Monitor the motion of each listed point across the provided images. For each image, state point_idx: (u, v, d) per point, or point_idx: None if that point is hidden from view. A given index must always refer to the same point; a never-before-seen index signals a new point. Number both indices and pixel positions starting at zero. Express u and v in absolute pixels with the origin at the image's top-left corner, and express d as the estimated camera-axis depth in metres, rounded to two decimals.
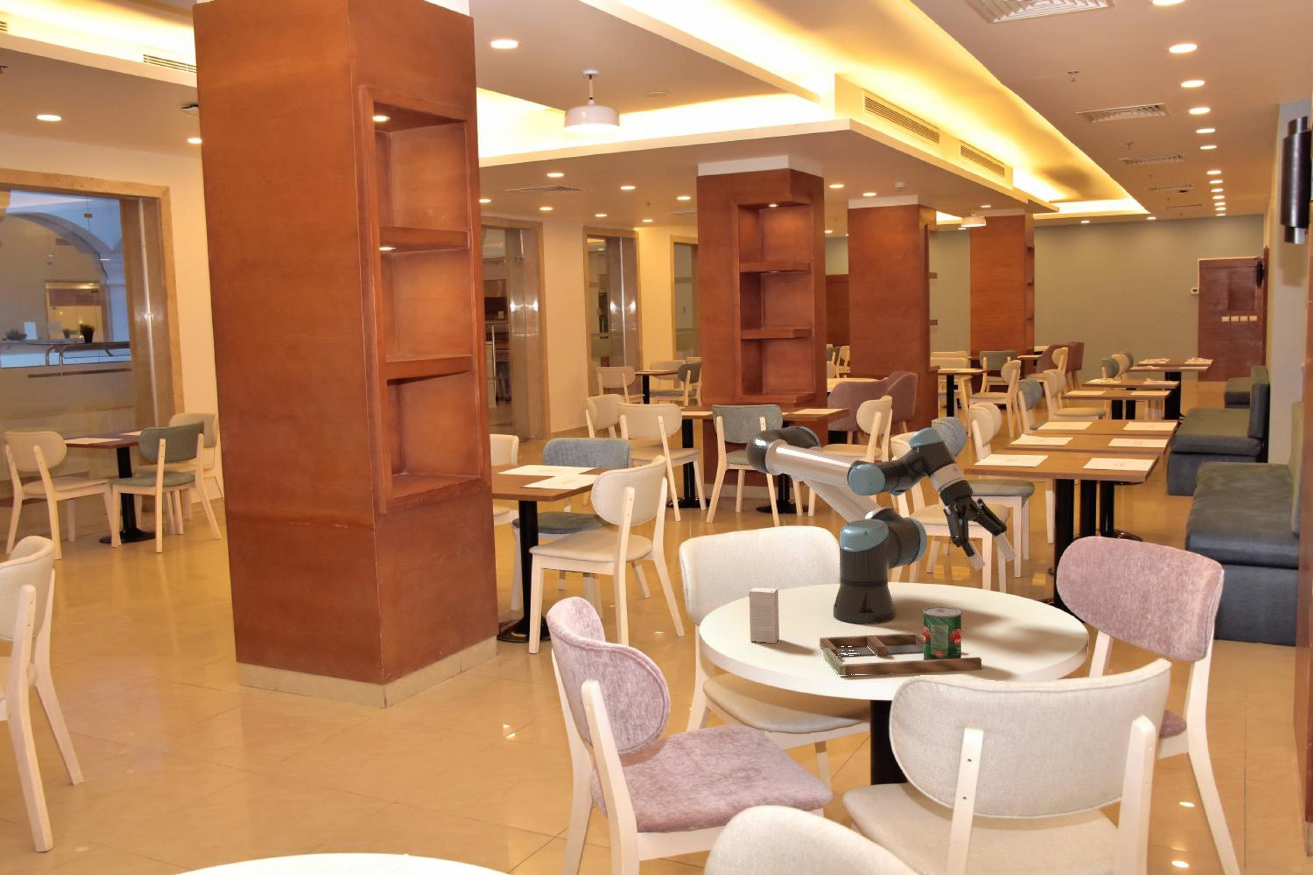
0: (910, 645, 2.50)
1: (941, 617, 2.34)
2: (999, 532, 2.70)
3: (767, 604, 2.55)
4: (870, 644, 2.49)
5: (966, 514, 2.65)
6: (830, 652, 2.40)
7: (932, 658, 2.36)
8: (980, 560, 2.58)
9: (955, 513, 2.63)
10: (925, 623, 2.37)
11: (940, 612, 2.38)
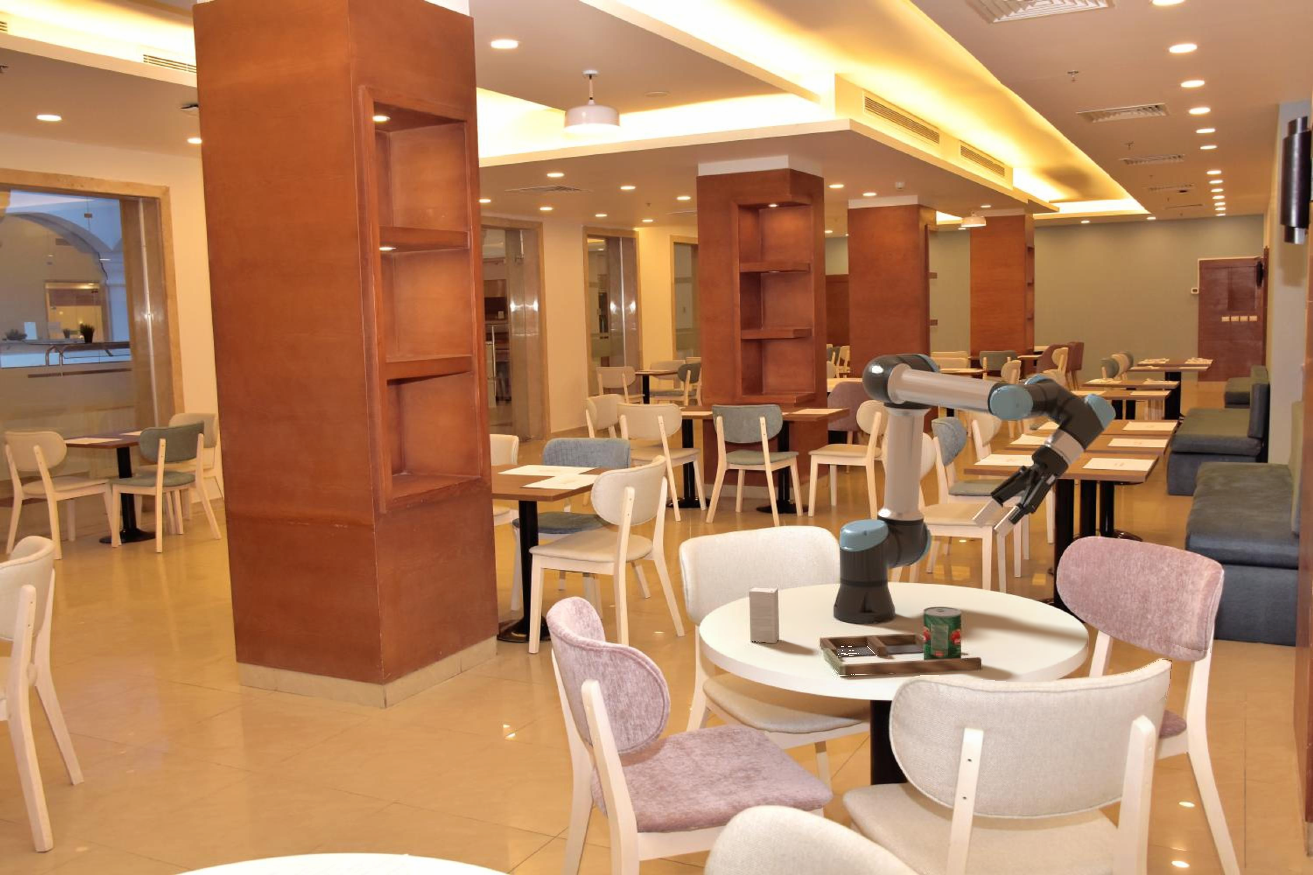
0: (910, 645, 2.50)
1: (941, 617, 2.34)
2: (999, 501, 2.49)
3: (767, 604, 2.55)
4: (870, 644, 2.49)
5: None
6: (830, 652, 2.40)
7: (932, 658, 2.36)
8: (1008, 531, 2.36)
9: None
10: (925, 623, 2.37)
11: (940, 612, 2.38)
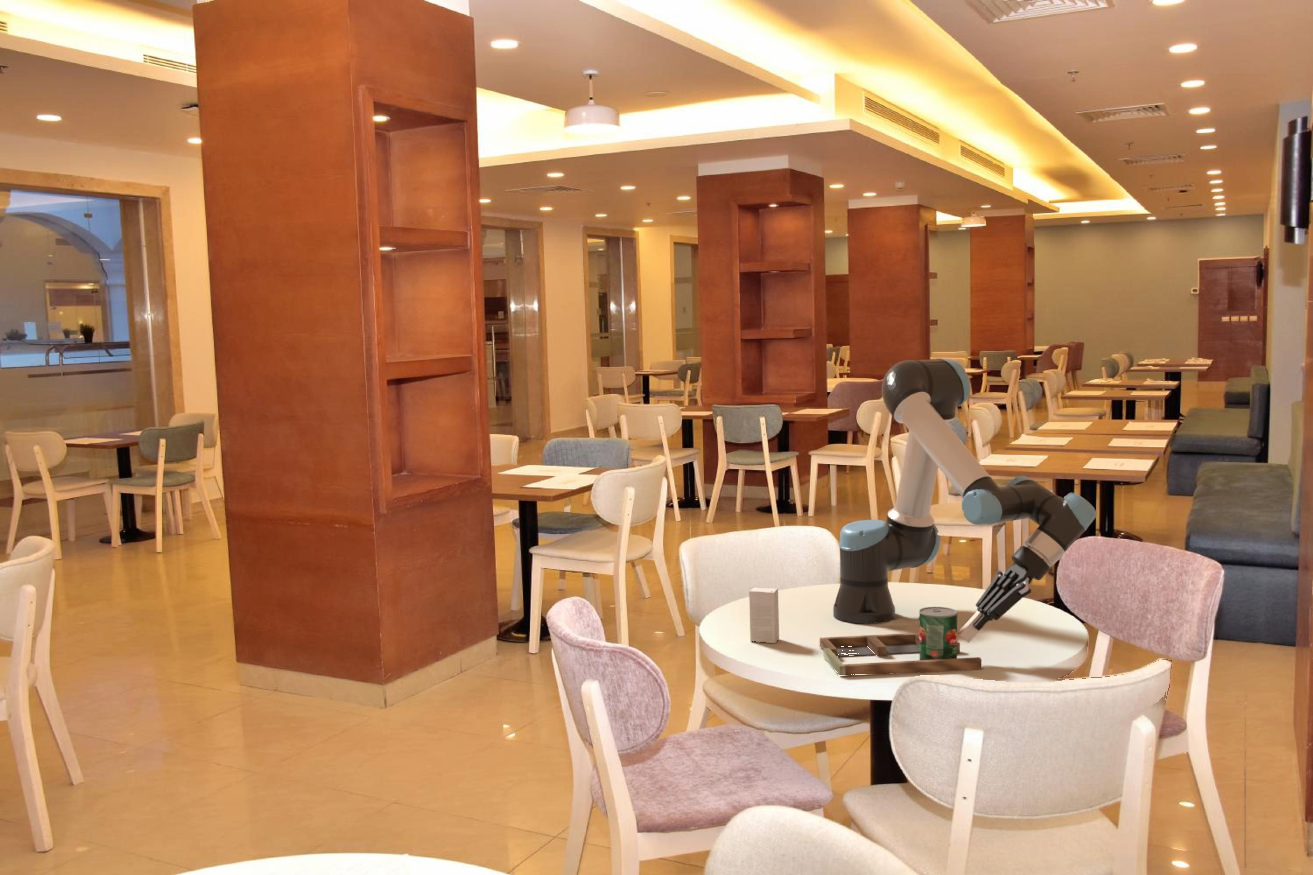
0: (910, 645, 2.50)
1: (936, 617, 2.34)
2: None
3: (767, 604, 2.55)
4: (870, 644, 2.49)
5: None
6: (830, 652, 2.40)
7: (928, 658, 2.36)
8: (972, 637, 2.37)
9: None
10: (921, 623, 2.37)
11: (936, 612, 2.38)
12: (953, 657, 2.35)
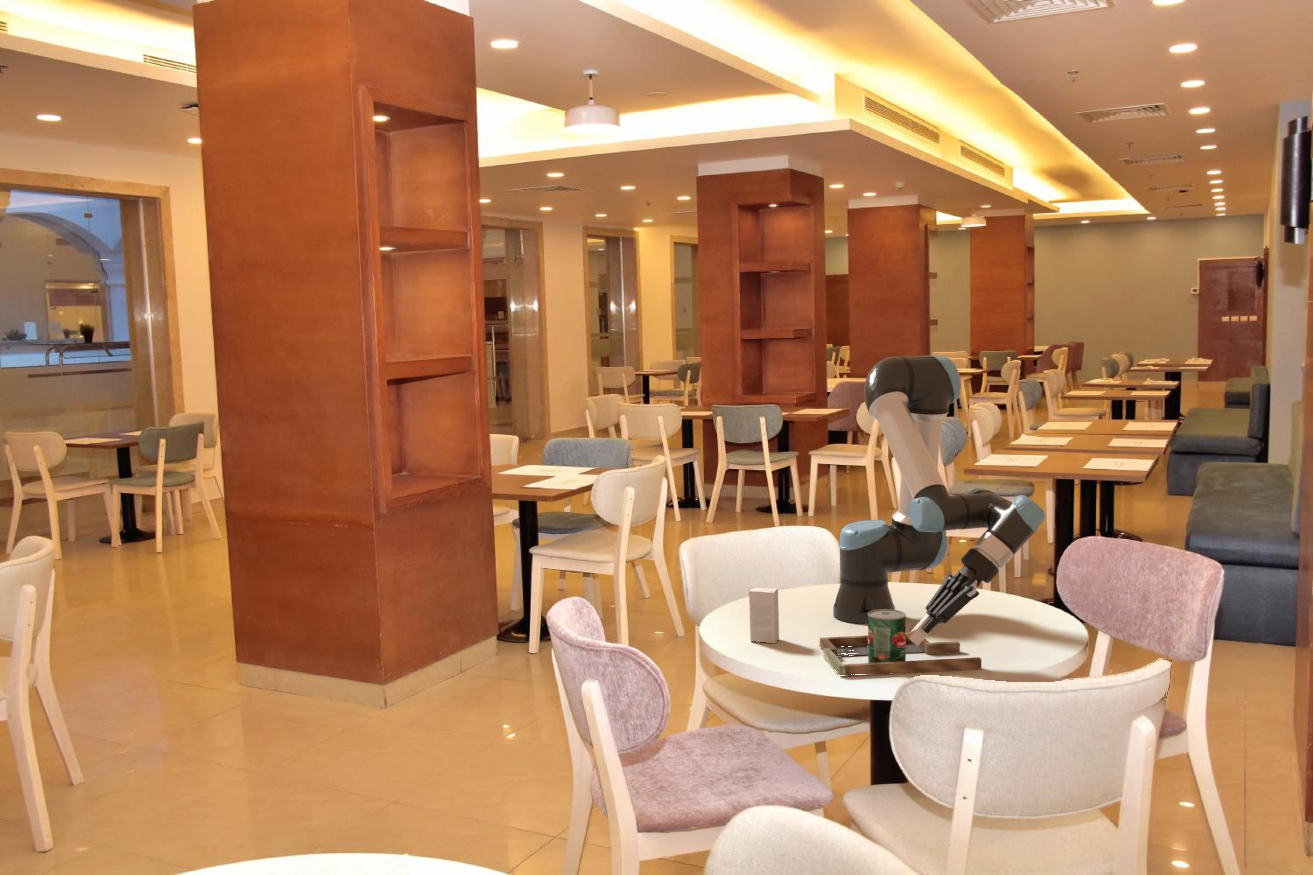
0: (910, 645, 2.50)
1: (883, 620, 2.33)
2: None
3: (767, 604, 2.55)
4: None
5: None
6: (830, 652, 2.40)
7: (875, 661, 2.35)
8: (921, 640, 2.36)
9: None
10: (869, 626, 2.36)
11: (884, 615, 2.36)
12: (900, 660, 2.34)
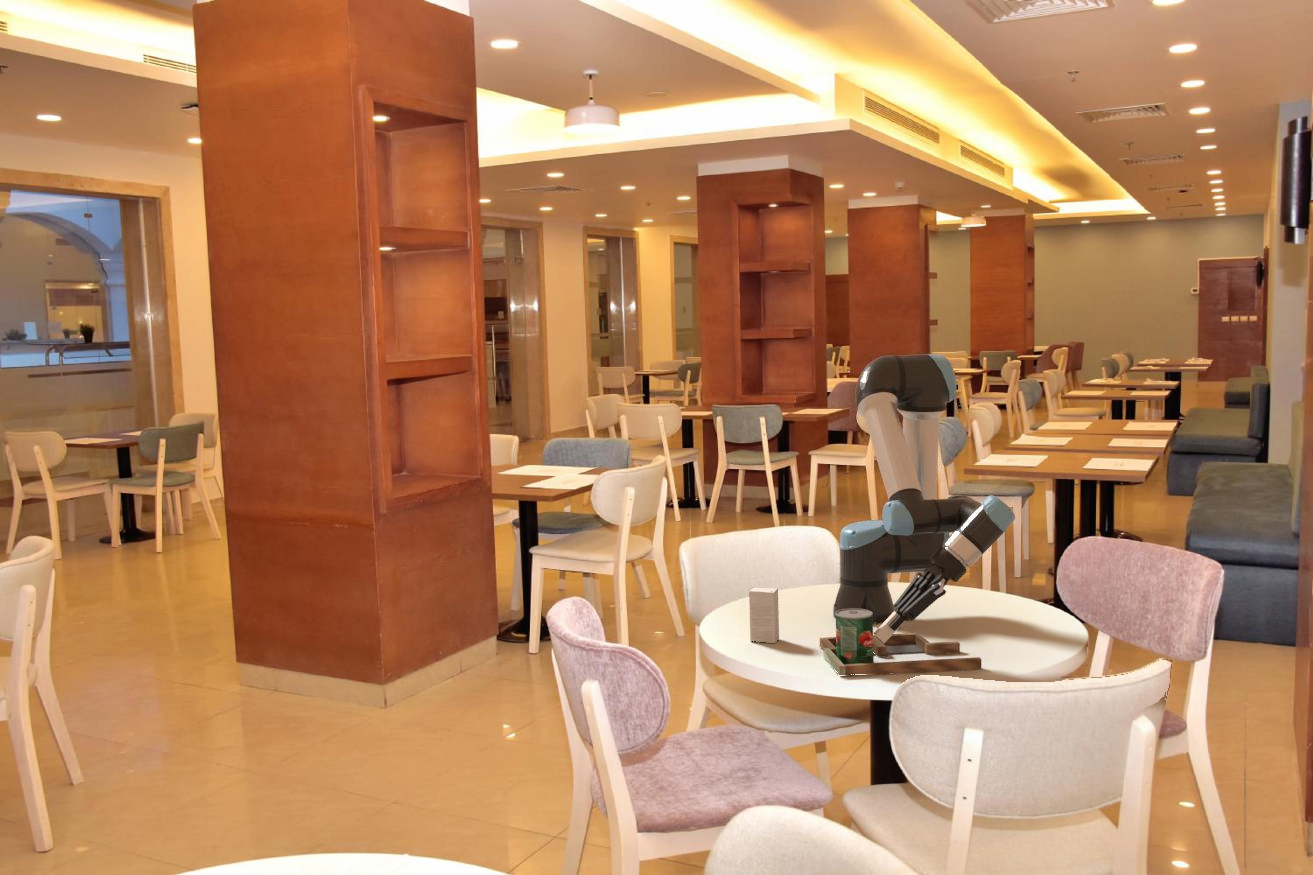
0: (910, 645, 2.50)
1: (849, 619, 2.34)
2: None
3: (767, 604, 2.55)
4: None
5: None
6: (830, 652, 2.40)
7: (842, 660, 2.36)
8: (888, 637, 2.37)
9: None
10: (836, 625, 2.38)
11: (852, 614, 2.38)
12: (868, 659, 2.35)
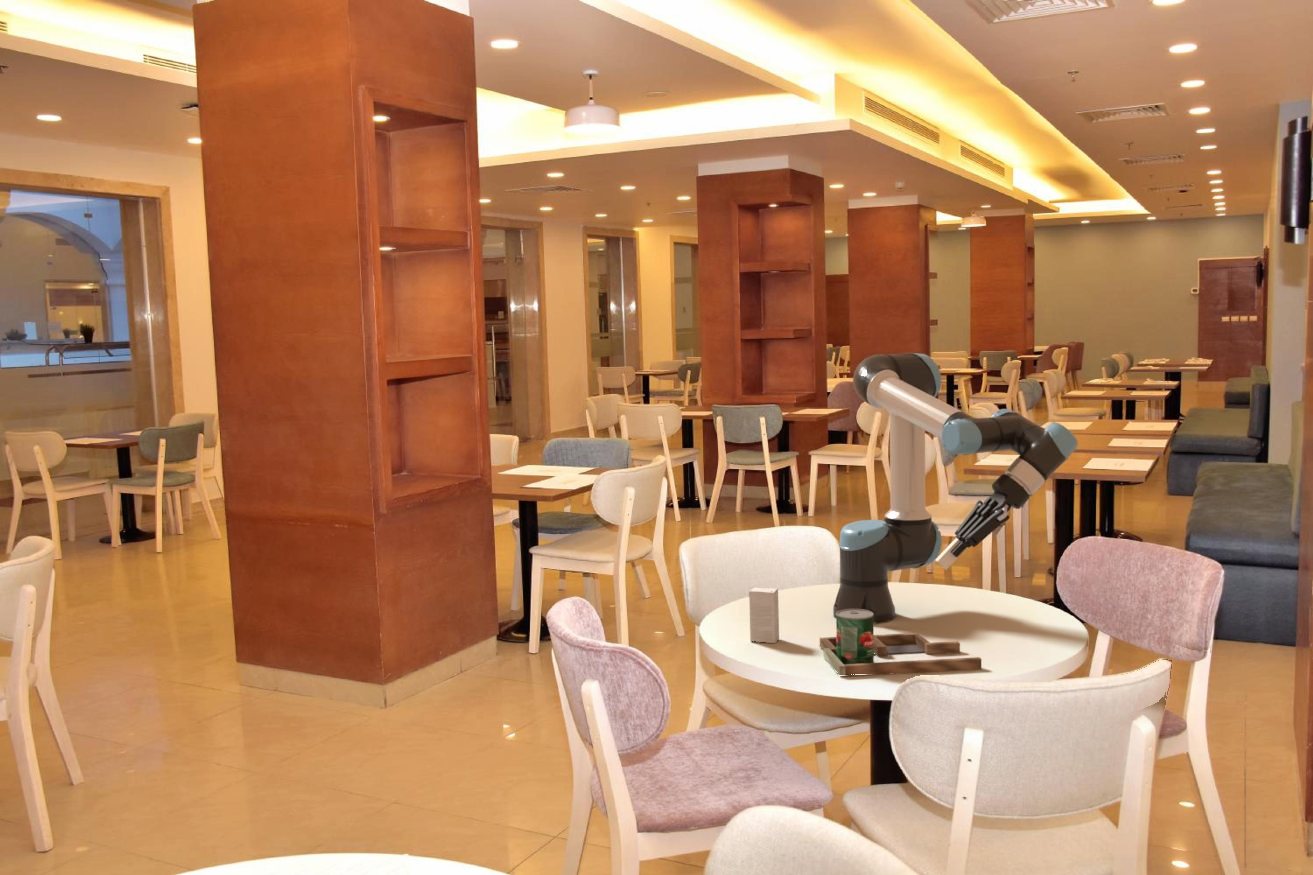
0: (910, 645, 2.50)
1: (850, 619, 2.34)
2: None
3: (767, 604, 2.55)
4: None
5: None
6: (830, 652, 2.40)
7: (842, 660, 2.36)
8: (950, 564, 2.37)
9: None
10: (837, 625, 2.37)
11: (852, 614, 2.38)
12: (868, 659, 2.35)
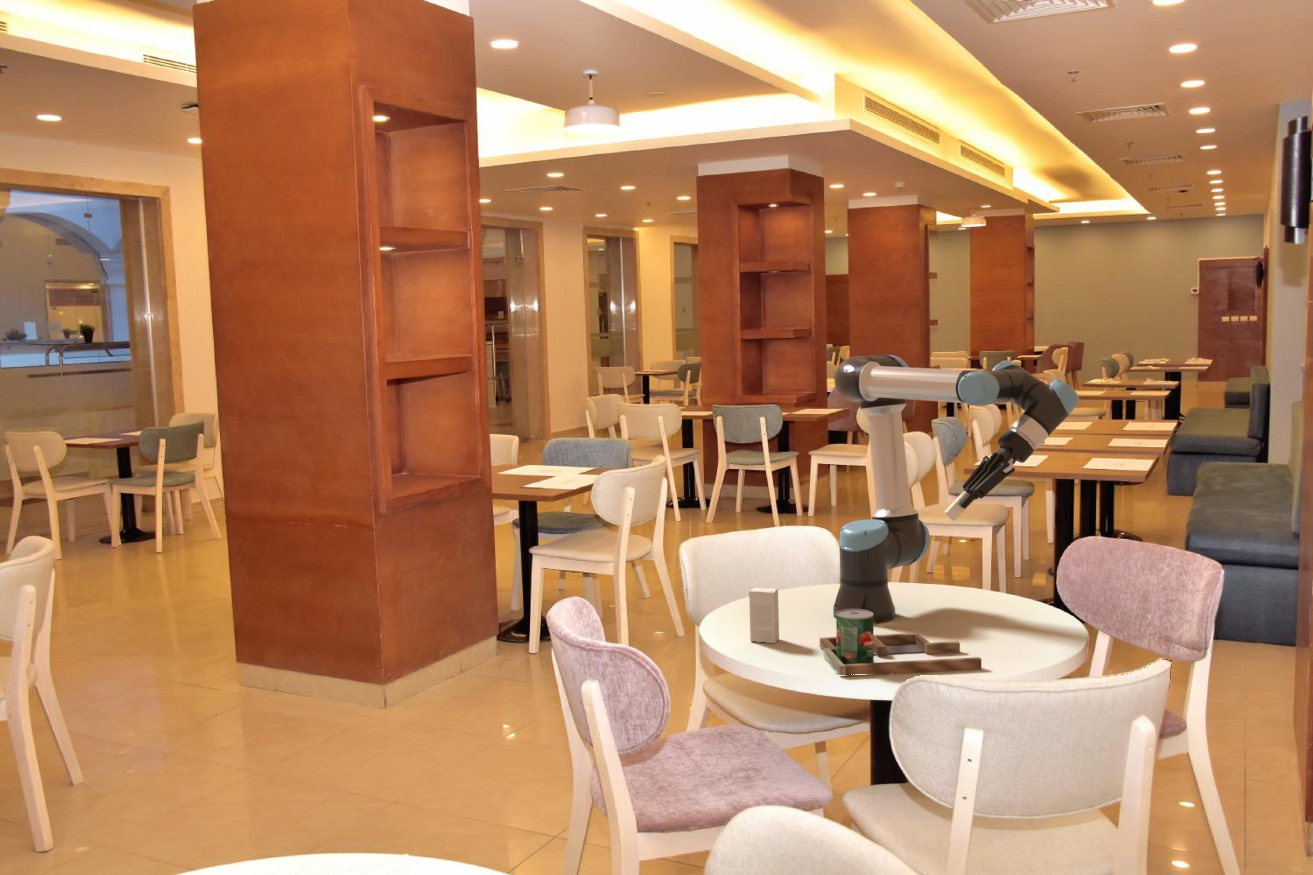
0: (910, 645, 2.50)
1: (850, 619, 2.34)
2: None
3: (767, 604, 2.55)
4: None
5: None
6: (830, 652, 2.40)
7: (842, 660, 2.36)
8: (958, 515, 2.49)
9: None
10: (837, 625, 2.37)
11: (852, 614, 2.38)
12: (868, 659, 2.35)
